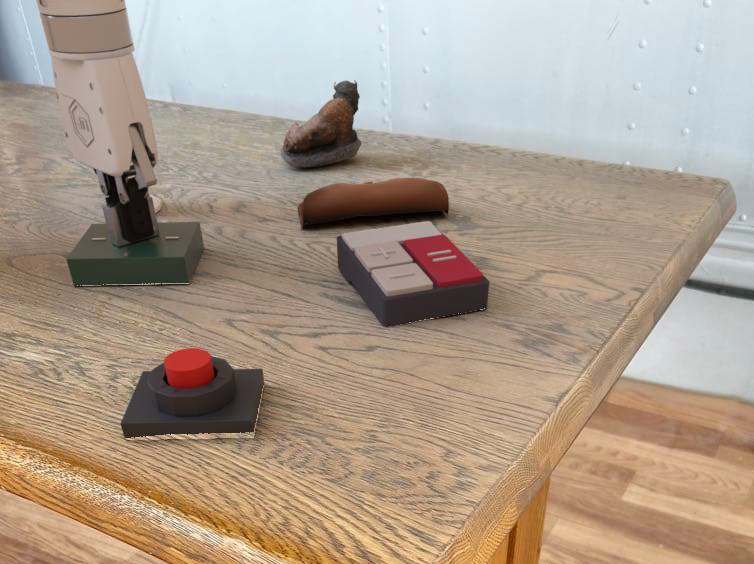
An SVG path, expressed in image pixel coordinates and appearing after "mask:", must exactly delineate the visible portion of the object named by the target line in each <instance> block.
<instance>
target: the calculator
mask: <svg viewBox="0 0 754 564" xmlns="http://www.w3.org/2000/svg"><path fill="white" fill-rule="evenodd" d="M336 252H337V253H336V255H337V269H338V270H339V272H340V273H341V274H342V276H343V277H344V279H345V280H346V281H347V283H352V285H353V286H354V288H355V289H356V290H357V292H358V294H359V295H360V296H361V298H362V299H363V300H364V302H365V303H366V305H367V306H368V307H369V309H370V310H371V312H372V313H373V314H374V316H375V317H376V318H377V320H378V321H379V323H380V324H381V325H382V326H383V327H384V326H385V327H384V328H390V327H389V326H392V327H397V326H396V325H398V326H401V325H400V324H403V325H407V324H406V323H409V322H415V321H419V320H424V319H430V318H437V317H443V316H448V315H453V314H458V313H459V315H461V314H460V313H465V312H470V311H475V310H480V309H484V308H485V310H487V308H488V302H489V301H488V300H489V291H490V280H489V279H488V278H487V277H486V276H485V275H484V273H483V272H482V271H481V270H480V269H479V268H478V267H477V266H476V265H475V264H474V263H473V262H472V261H471V260H470V259H469V258H468V256H466V254H464V253H463V252H462V250H461V249H459V248H458V247H457V246H456V245H455V244H454V242H452V240H451V239H450V238H449V237H447V236H446V234H444V233H443V232H442V231H441V230H440V229H439V228H438V227H437V226H436V225H435V224H434V223H433V222H431V221H429V220H427V221H426V220H425V221H420V222H413V223H406V224H399V225H392V226H385V227H384V226H383V227H380V228H379V227H378V228H372V229H363V230H358V231H352V232H344V233H342V234H340V235H337V236H336ZM470 313H471V312H470ZM465 314H466V313H465ZM448 317H449V316H448ZM443 318H444V317H443ZM437 319H438V318H437ZM415 323H416V322H415ZM409 324H410V323H409Z"/></svg>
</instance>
